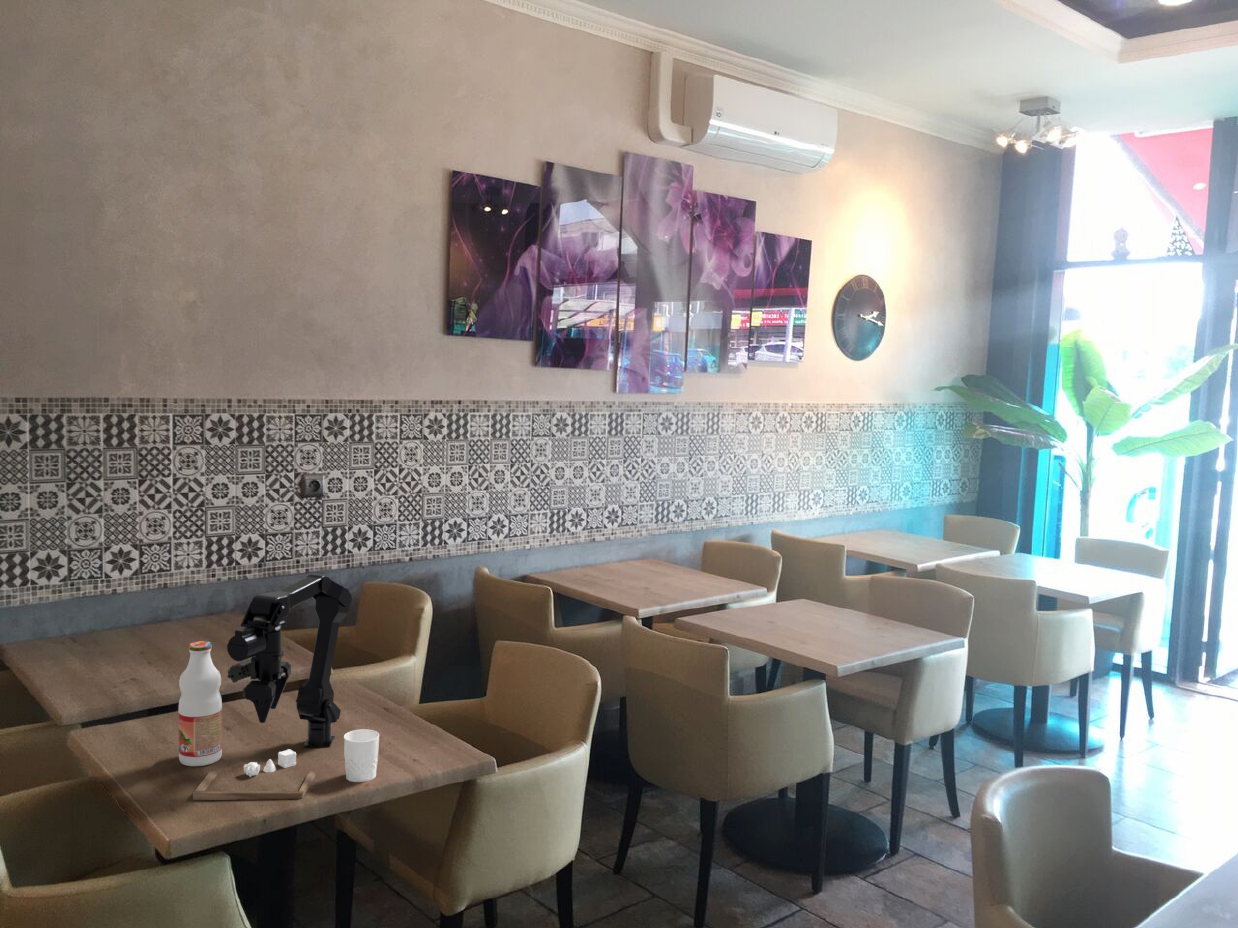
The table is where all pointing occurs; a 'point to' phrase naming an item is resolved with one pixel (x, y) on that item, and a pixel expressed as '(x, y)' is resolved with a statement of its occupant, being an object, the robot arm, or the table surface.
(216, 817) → the table surface
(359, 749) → the white cup
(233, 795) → the rail corral
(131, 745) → the table surface
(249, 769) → the game pieces
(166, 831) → the table surface
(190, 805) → the table surface
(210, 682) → the fruit juice
